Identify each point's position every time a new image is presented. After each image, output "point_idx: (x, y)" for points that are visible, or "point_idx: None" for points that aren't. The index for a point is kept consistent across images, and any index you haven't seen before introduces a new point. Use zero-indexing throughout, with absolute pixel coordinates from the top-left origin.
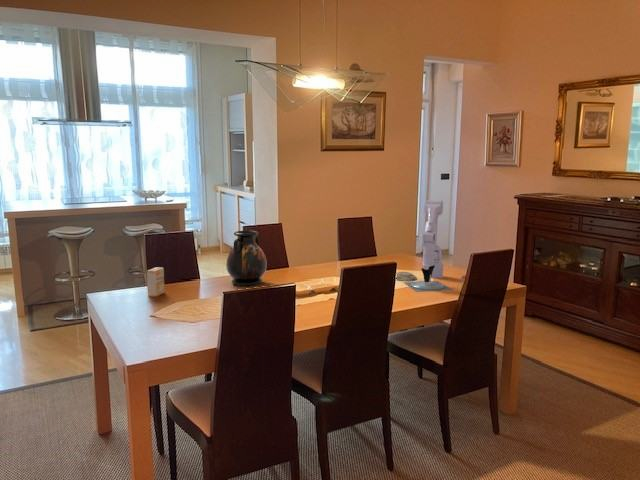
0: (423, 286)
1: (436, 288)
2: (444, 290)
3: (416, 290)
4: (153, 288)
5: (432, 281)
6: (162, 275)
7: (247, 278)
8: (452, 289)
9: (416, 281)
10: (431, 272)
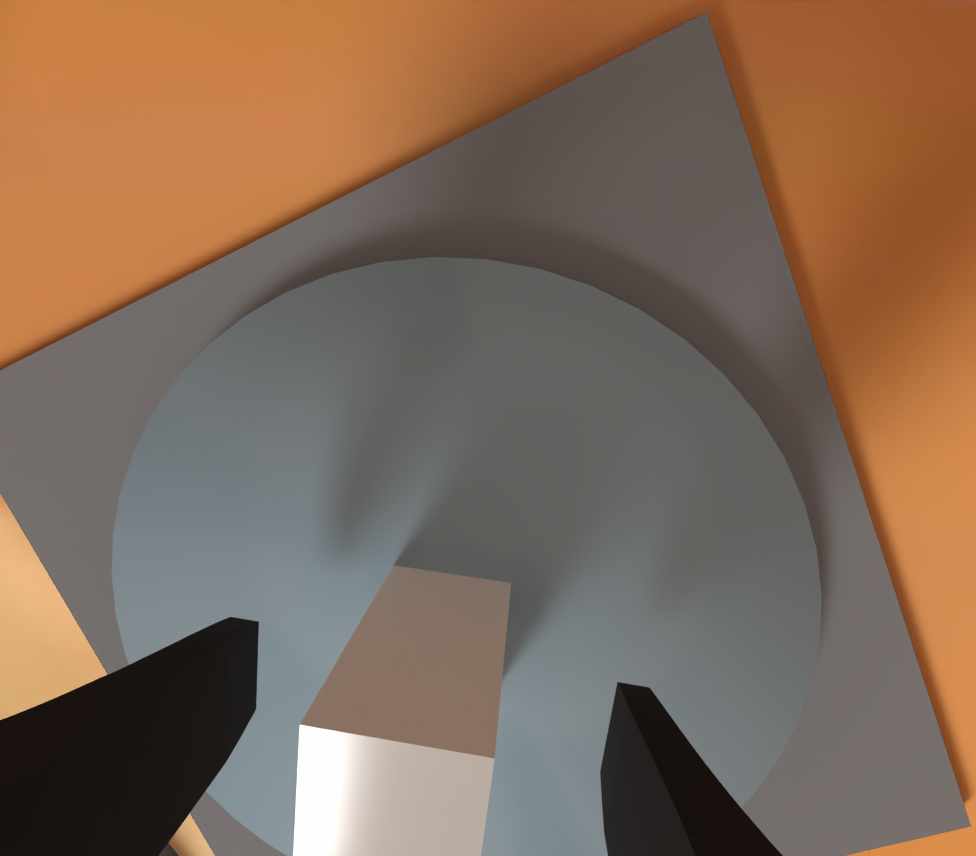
0: None
1: (770, 448)
2: (782, 254)
3: (853, 820)
4: None
5: (138, 520)
6: None
7: None
8: (648, 45)
9: (244, 815)
10: (101, 749)
